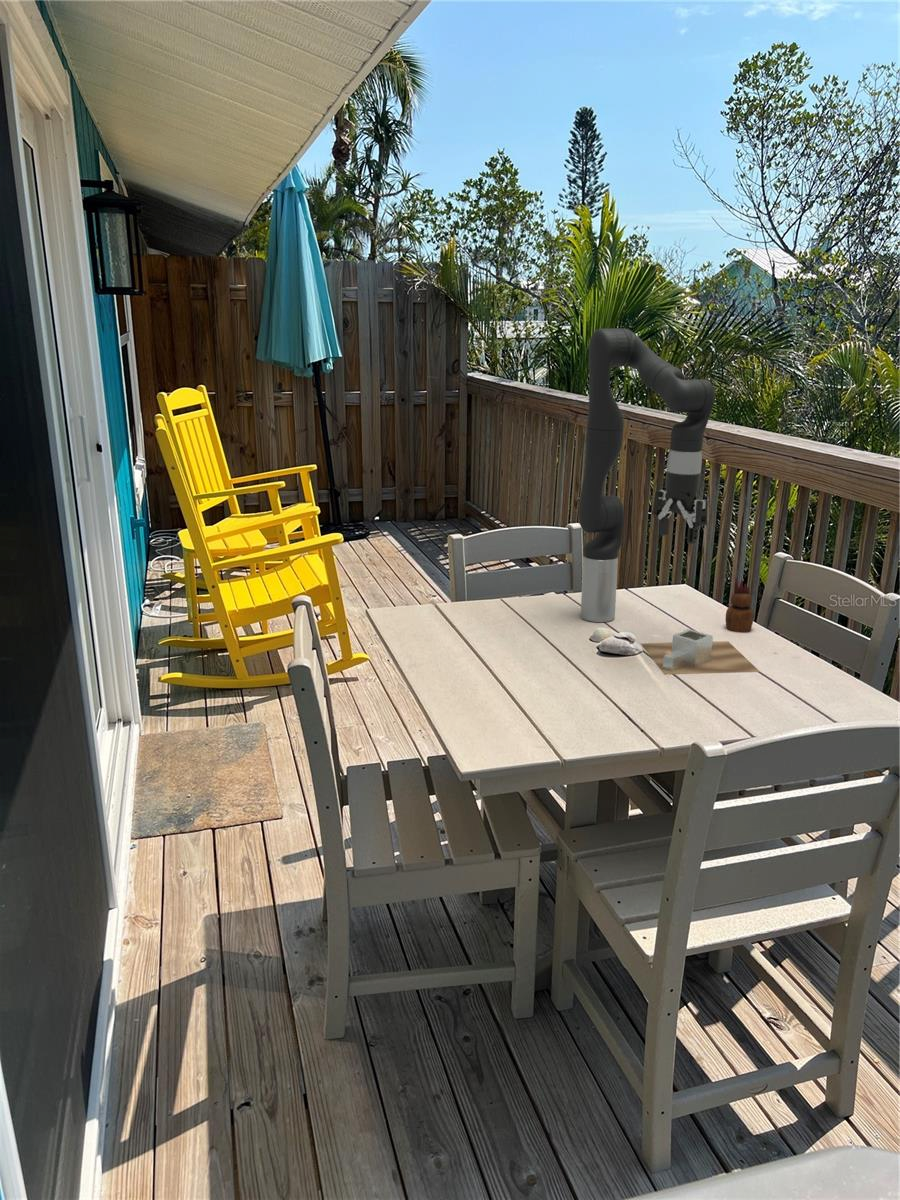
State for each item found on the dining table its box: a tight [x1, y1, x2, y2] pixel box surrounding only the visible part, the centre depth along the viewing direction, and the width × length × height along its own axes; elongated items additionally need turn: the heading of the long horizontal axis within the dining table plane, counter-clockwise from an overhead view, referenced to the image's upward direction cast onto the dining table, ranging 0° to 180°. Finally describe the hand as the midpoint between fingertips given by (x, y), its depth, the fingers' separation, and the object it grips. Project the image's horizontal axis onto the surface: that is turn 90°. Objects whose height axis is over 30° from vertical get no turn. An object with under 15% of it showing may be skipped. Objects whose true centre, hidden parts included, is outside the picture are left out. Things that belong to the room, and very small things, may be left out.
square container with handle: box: [663, 628, 714, 671], centre depth 204 cm, size 12×6×6 cm, turn 131°
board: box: [640, 640, 761, 676], centre depth 209 cm, size 20×22×2 cm
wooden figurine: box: [725, 577, 755, 633], centre depth 226 cm, size 7×6×15 cm
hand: (677, 538), depth 207 cm, fingers open, 8 cm apart
